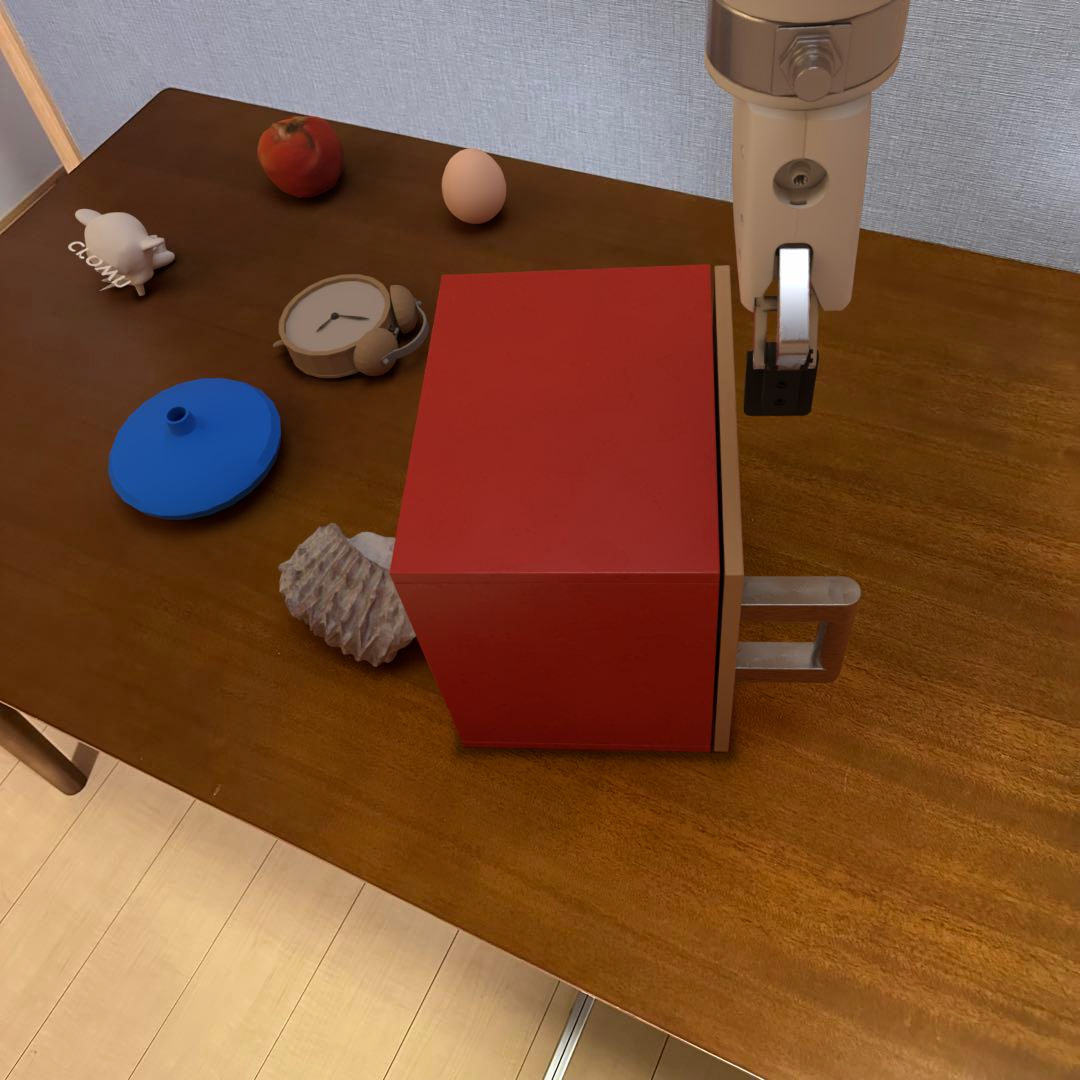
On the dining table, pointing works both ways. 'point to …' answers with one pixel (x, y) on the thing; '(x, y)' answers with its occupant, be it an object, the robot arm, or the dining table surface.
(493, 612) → the box
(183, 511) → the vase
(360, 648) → the seashell
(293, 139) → the tomato
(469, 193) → the egg
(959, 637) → the dining table surface
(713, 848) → the dining table surface
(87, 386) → the dining table surface
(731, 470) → the door
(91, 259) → the figurine
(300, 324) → the alarm clock
